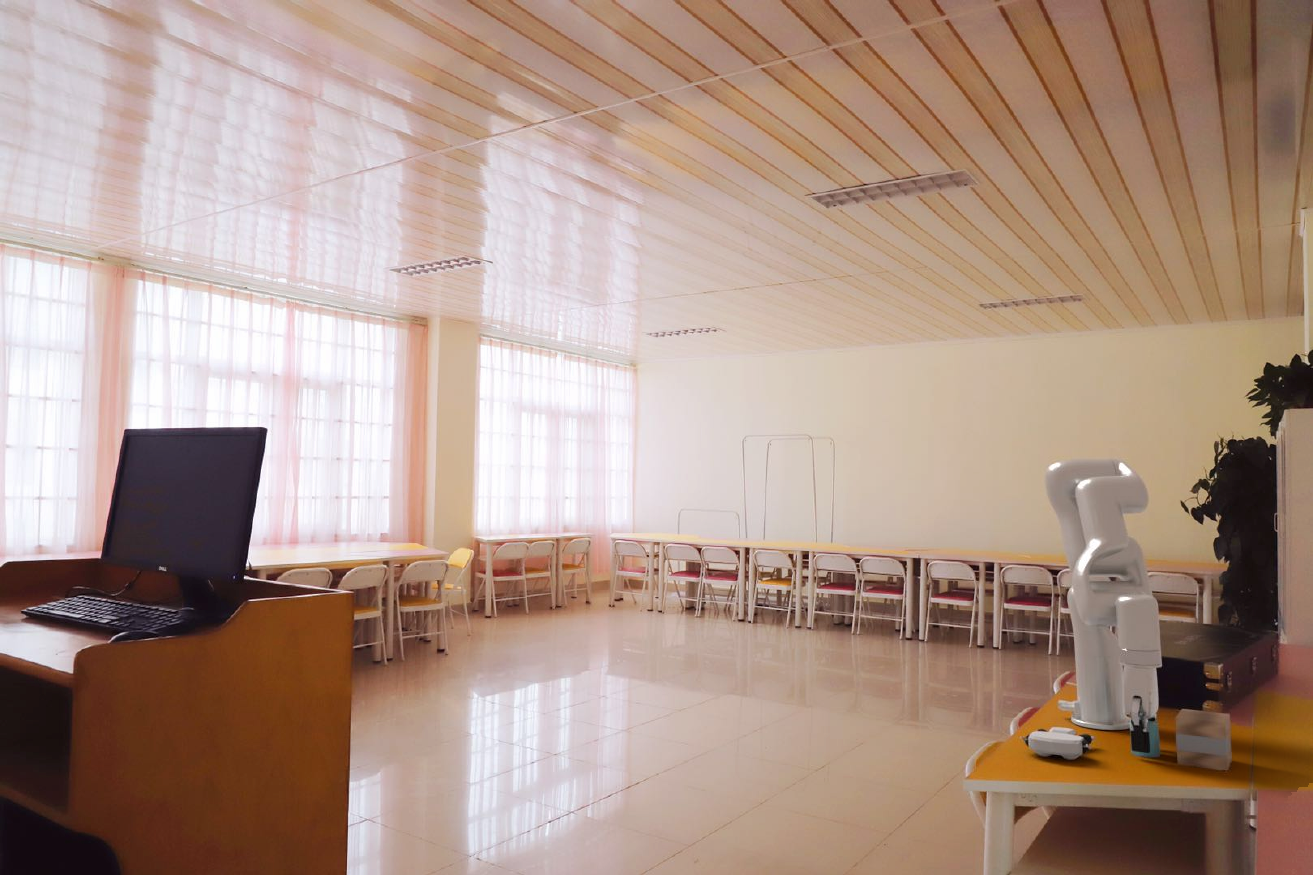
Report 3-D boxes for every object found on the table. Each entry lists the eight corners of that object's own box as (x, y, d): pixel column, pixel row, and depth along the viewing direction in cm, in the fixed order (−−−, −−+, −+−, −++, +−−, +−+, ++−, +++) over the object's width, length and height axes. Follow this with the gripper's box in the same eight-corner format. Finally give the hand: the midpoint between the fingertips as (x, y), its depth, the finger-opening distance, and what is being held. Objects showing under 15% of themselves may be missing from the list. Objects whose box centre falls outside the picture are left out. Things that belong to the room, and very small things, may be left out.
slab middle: (1176, 749, 171) (1175, 733, 171) (1183, 739, 177) (1182, 724, 177) (1226, 756, 166) (1225, 739, 166) (1230, 745, 172) (1229, 729, 172)
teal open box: (1129, 754, 177) (1127, 723, 177) (1134, 748, 181) (1132, 718, 181) (1157, 758, 174) (1155, 727, 174) (1162, 752, 178) (1160, 721, 178)
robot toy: (1034, 744, 189) (1019, 757, 177) (1034, 722, 190) (1019, 733, 177) (1099, 752, 182) (1088, 766, 170) (1098, 729, 183) (1087, 741, 171)
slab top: (1176, 733, 171) (1175, 717, 171) (1183, 724, 177) (1182, 708, 177) (1225, 739, 166) (1224, 722, 166) (1230, 729, 172) (1229, 713, 172)
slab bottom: (1177, 765, 170) (1176, 749, 171) (1184, 755, 177) (1183, 739, 177) (1227, 772, 166) (1226, 755, 166) (1232, 761, 172) (1230, 745, 172)
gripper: (1127, 649, 188) (1132, 733, 187) (1109, 662, 174) (1115, 753, 173) (1168, 652, 183) (1173, 739, 182) (1153, 666, 170) (1159, 760, 168)
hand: (1145, 745), depth 178 cm, fingers open, 8 cm apart
